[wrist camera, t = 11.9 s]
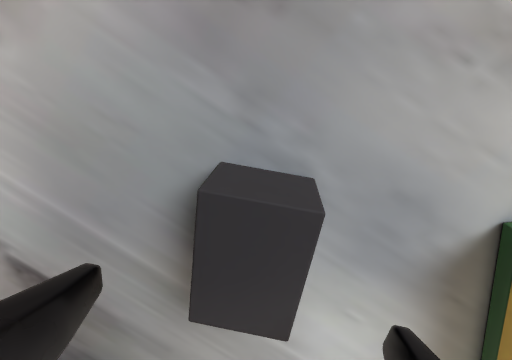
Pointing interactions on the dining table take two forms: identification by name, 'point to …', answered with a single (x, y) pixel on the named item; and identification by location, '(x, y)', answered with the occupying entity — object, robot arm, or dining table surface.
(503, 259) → the sponge
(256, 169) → the grey eraser
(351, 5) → the dining table surface
